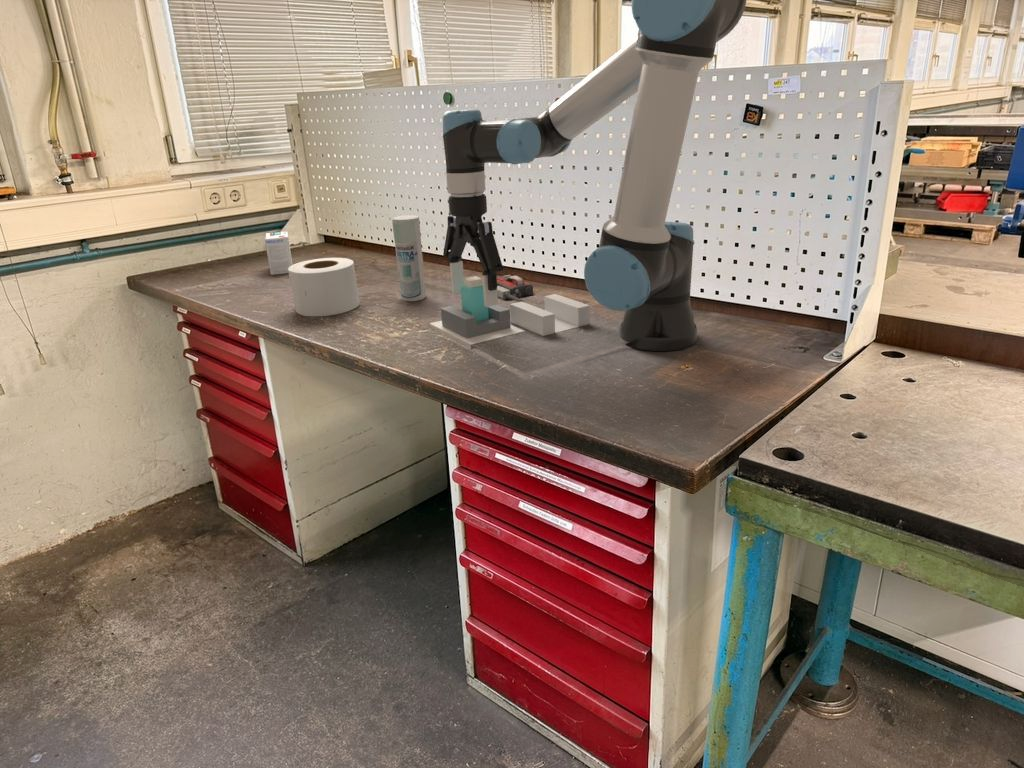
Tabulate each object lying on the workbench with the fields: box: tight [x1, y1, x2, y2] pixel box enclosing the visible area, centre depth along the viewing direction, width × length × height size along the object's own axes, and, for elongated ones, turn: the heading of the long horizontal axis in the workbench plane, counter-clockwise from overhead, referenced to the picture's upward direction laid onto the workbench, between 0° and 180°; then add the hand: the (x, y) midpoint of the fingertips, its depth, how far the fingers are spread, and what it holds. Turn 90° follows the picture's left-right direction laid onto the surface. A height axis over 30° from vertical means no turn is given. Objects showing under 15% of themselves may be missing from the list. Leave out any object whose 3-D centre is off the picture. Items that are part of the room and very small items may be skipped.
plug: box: [460, 275, 489, 322], centre depth 145 cm, size 4×4×10 cm
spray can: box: [391, 214, 427, 302], centre depth 170 cm, size 6×6×20 cm
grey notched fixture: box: [429, 304, 525, 350], centre depth 146 cm, size 18×13×5 cm
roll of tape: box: [288, 257, 361, 317], centre depth 168 cm, size 16×15×11 cm
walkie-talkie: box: [497, 274, 534, 302], centre depth 172 cm, size 9×4×20 cm
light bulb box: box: [264, 231, 294, 276], centre depth 209 cm, size 11×7×11 cm, turn 17°
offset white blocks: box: [509, 293, 591, 337], centre depth 146 cm, size 12×12×5 cm
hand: (474, 298), depth 144 cm, fingers open, 13 cm apart
